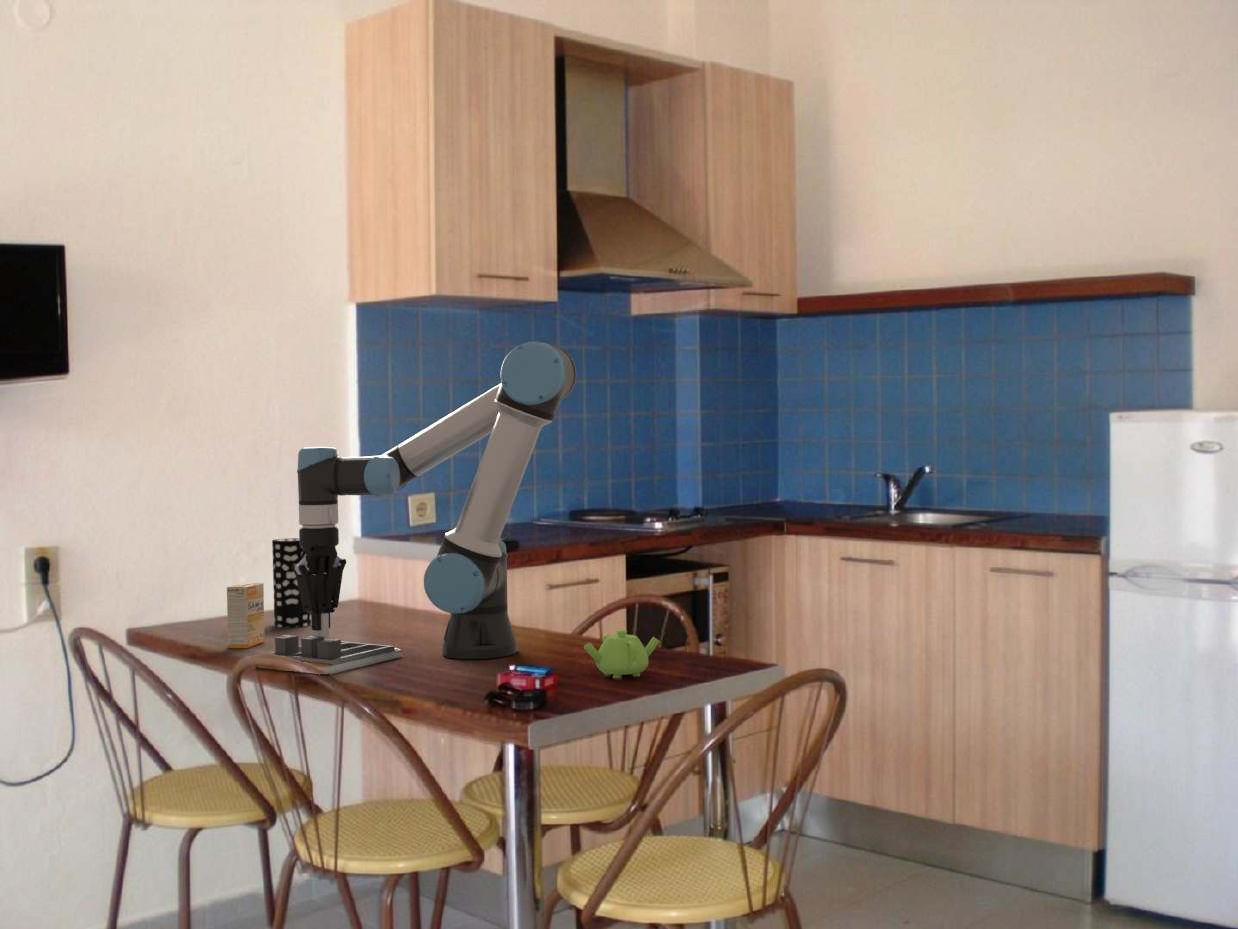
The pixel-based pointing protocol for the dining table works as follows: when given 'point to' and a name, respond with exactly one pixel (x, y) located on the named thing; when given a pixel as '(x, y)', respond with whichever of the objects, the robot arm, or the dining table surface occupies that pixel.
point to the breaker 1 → (286, 645)
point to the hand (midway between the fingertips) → (321, 646)
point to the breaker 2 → (329, 649)
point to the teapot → (622, 654)
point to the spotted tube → (287, 585)
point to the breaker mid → (310, 646)
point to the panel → (351, 656)
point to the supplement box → (245, 615)
